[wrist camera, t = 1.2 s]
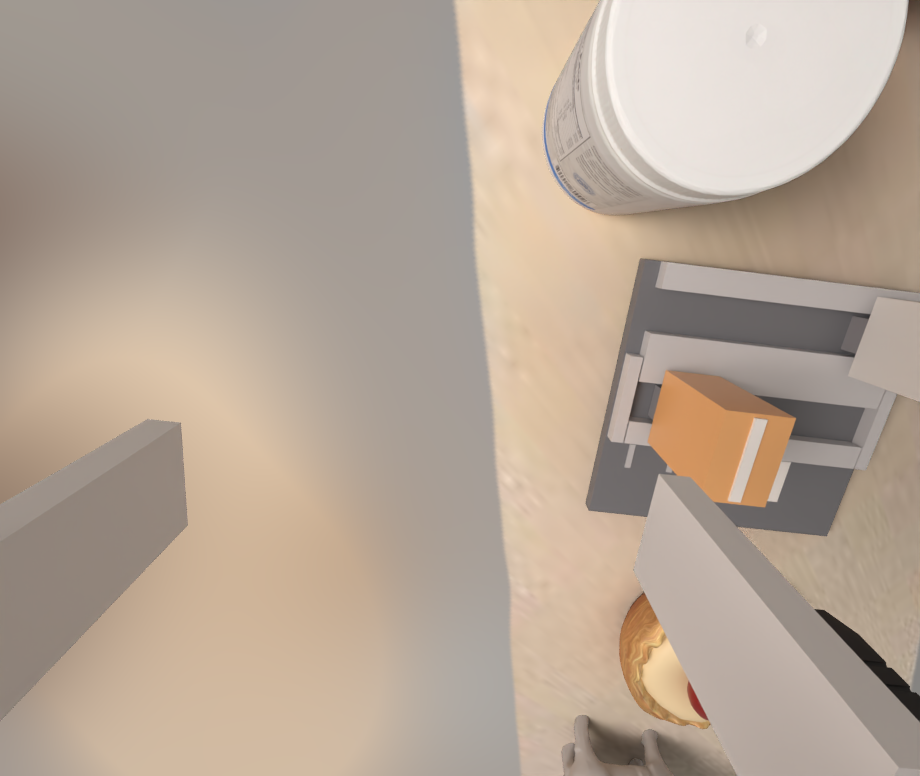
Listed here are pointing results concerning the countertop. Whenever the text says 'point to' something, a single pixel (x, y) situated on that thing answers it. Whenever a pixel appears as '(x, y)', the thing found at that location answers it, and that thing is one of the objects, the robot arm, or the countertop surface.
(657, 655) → the pastry
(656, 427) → the fader knob
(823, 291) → the console board
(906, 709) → the robot arm
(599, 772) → the dog figurine
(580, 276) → the countertop surface
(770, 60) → the supplement tub
